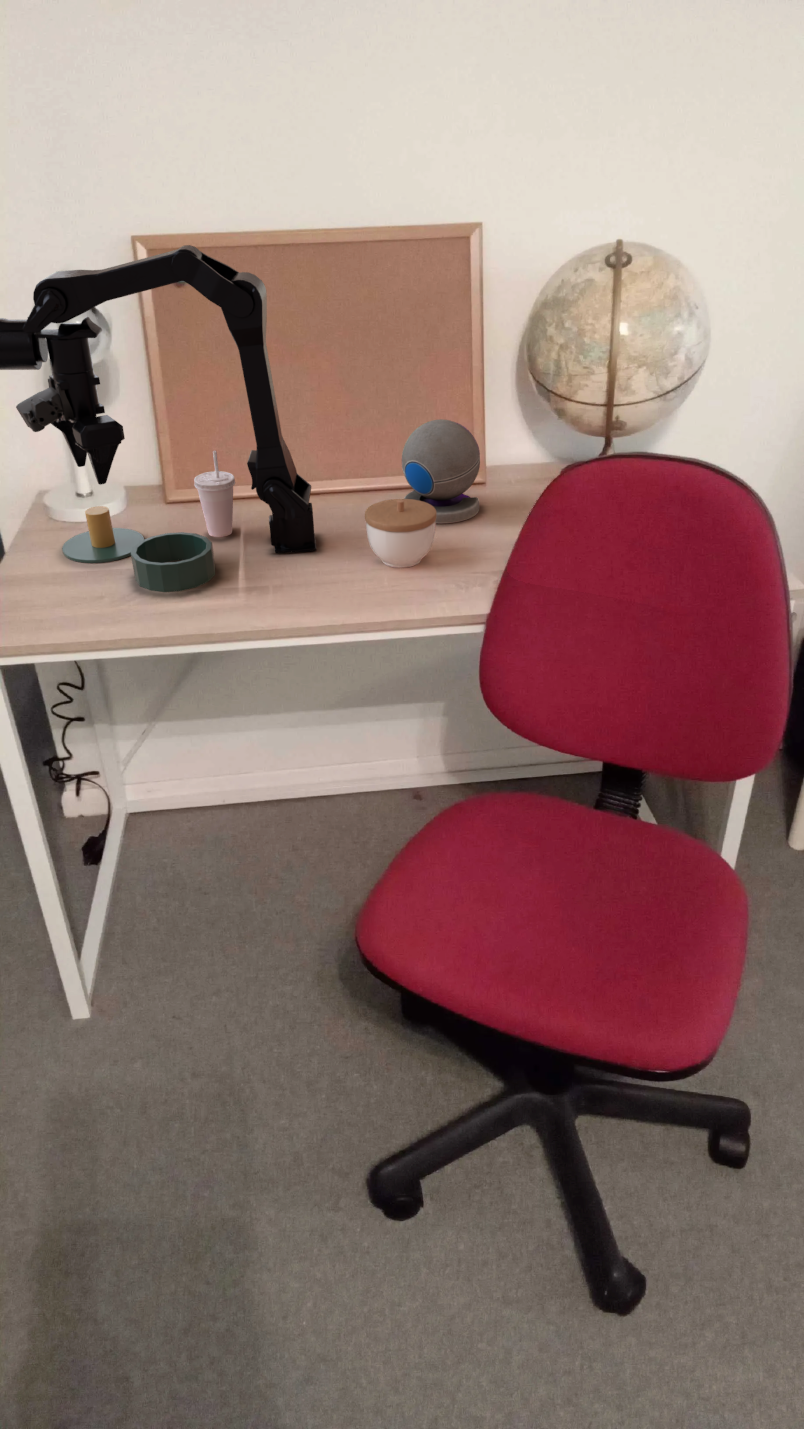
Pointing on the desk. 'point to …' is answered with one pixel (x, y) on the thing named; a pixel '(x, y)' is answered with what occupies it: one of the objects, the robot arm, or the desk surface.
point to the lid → (101, 539)
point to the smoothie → (216, 499)
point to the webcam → (442, 468)
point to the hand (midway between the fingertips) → (91, 474)
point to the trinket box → (400, 530)
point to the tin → (173, 574)
